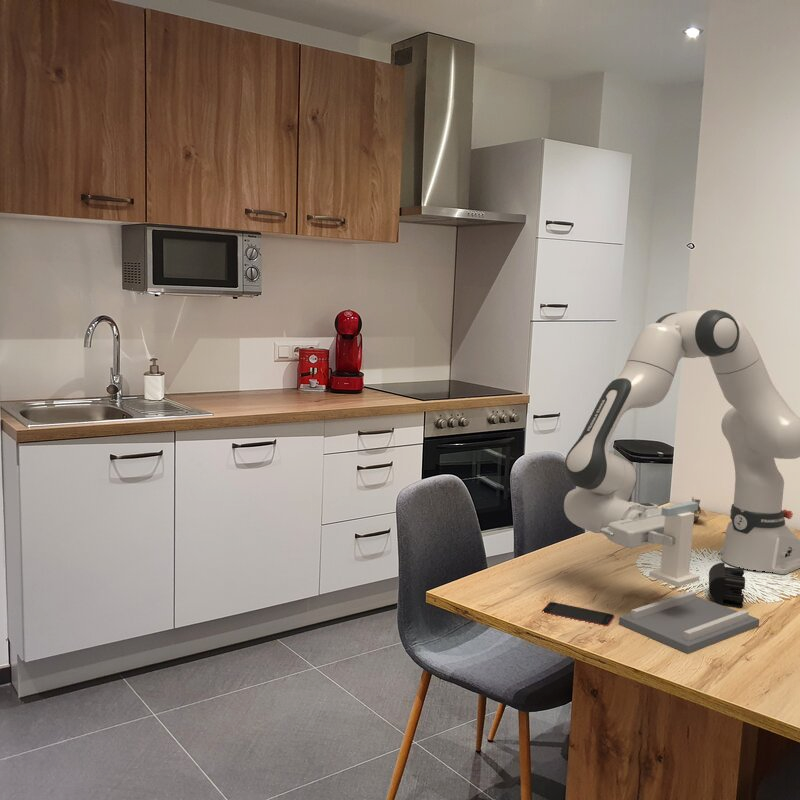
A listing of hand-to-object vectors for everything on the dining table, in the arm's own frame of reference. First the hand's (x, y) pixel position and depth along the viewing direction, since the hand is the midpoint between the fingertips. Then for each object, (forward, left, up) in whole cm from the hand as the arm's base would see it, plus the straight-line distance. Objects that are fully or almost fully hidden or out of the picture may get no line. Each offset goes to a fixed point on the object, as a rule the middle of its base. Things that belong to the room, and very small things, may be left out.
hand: (681, 539), depth 169 cm
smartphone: (+17, -10, -17) cm, 26 cm away
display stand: (0, -1, -8) cm, 9 cm away
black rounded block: (-19, -3, -17) cm, 26 cm away
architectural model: (-62, -49, -17) cm, 81 cm away
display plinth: (0, +4, -17) cm, 17 cm away
